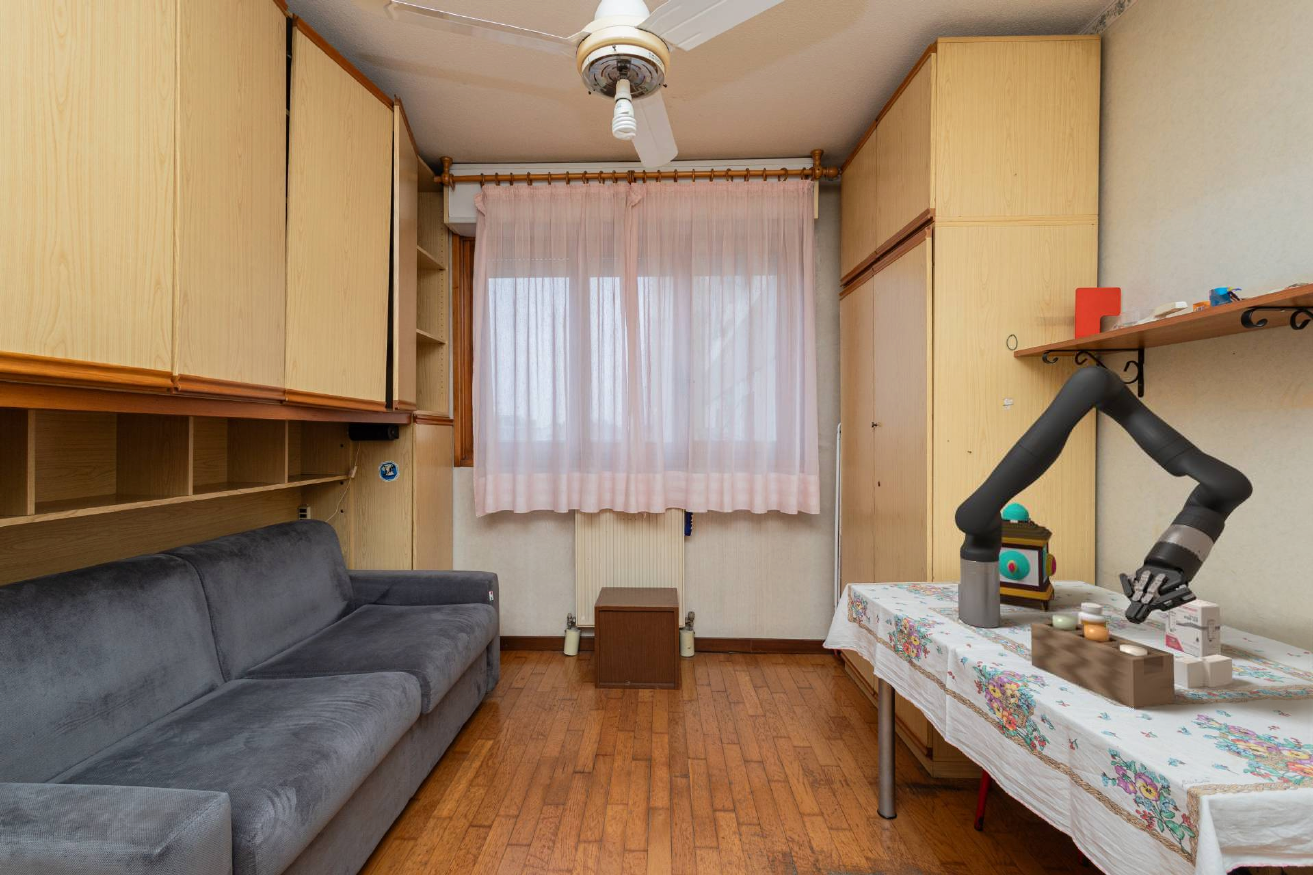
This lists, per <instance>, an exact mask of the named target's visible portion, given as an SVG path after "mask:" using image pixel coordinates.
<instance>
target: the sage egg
mask: <svg viewBox="0 0 1313 875" xmlns="http://www.w3.org/2000/svg"><path fill="white" fill-rule="evenodd" d="M1052 622H1053V627H1054V628H1057V629H1060V630H1063V631H1065V632H1067V631H1076V623H1077V621H1076V618H1075V617H1073V616H1070V615H1065V614H1053V615H1052Z"/></svg>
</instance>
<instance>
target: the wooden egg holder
mask: <svg viewBox="0 0 1313 875" xmlns="http://www.w3.org/2000/svg"><path fill="white" fill-rule="evenodd" d="M1030 635H1031V636H1030V637H1031V638H1030V639H1031V640H1030V641H1031V643H1030V644H1031V646H1030V647H1031V648H1030V649H1031V666H1033V667H1035V668H1037V669H1039V670H1043V671H1044V672H1046V673H1049V674H1051V675H1054V676H1056V677H1059V678H1060V679H1063V680H1065V681H1067V682H1070V683H1072V684H1074V685H1077V686H1080V687H1082V688H1084V689H1086V690H1089V691H1091V692H1094V693H1095V694H1098V695H1100V696H1103V697H1104V698H1107V699H1109V700H1112V701H1114V702H1117V703H1119V704H1122V705H1123V706H1125V707H1128V708H1130V709H1133V708H1134V709H1133V710H1136V709H1135V708H1137V709H1143V708H1148V706H1149V707H1153V706H1160V705H1167V704H1171V703H1170V702H1173V703H1175V702H1176V701H1175V700H1176V698H1175V697H1176V696H1175V693H1176V692H1175V684H1174V657H1175V656H1174V655H1175V654H1174V653H1171V652H1168V651H1166V650H1162V649H1159V648H1156V647H1153V646H1150V645H1147V644H1144V643H1140V642H1137V641H1134V640H1131V639H1128V638H1126V637H1125V638H1124V637H1121V636H1120V635H1115V634H1112V633H1109V642H1104V643H1098V642H1095V641H1092V640H1089V639H1086V638H1084V625H1081V624H1078V622H1076V631H1067V632H1065V631H1063V630H1060V629H1057V628H1054V627H1053V621H1046V622H1036V623H1030ZM1120 645H1133V646H1138V647H1142V648H1144V649H1146V650H1147V655H1142V656H1135V655H1132V654H1130V653H1127V652H1124V651H1121V650H1120ZM1142 707H1143V708H1142Z"/></svg>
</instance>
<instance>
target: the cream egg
mask: <svg viewBox="0 0 1313 875" xmlns="http://www.w3.org/2000/svg"><path fill="white" fill-rule="evenodd" d="M1120 650H1121V651H1124V652H1127V653H1130V654H1132V655H1135V656H1142V655H1147V650H1146V649H1144V648H1142V647H1138V646H1133V645H1120Z"/></svg>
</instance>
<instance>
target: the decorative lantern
mask: <svg viewBox="0 0 1313 875" xmlns="http://www.w3.org/2000/svg"><path fill="white" fill-rule="evenodd" d="M1001 516H1002V547H1001V551H1000V554H999V572H1000V597H1006V598H1013V599H1019V600H1026V601H1032V602H1039V603H1041V606H1042V610H1043V612H1045V613H1047V612H1048V611H1049V608H1050V601H1051V600H1053V599H1054V598H1055V588H1054V586H1053V584H1052V582H1051V580H1050V577H1053V576H1054V575H1055V574H1056V573H1057V560H1056V558H1055V556H1054V554H1051V553H1049V552H1050V550H1049V547H1050V546H1049V544H1050V543H1049V542H1050V540H1051V538H1052V536H1053V533H1052V531H1050V529H1049V528H1047V527H1046V526H1045V525H1044V526H1043V525H1039V524H1038V523H1036V522H1035V521H1034V520H1032V519H1031V517H1030V513H1029V510H1028V509H1026V507H1025V506H1024V505H1022V504H1020V503H1017V502H1013V503H1010V504H1008V505H1007V506H1006V507H1004V508H1003V509H1002V513H1001Z"/></svg>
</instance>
